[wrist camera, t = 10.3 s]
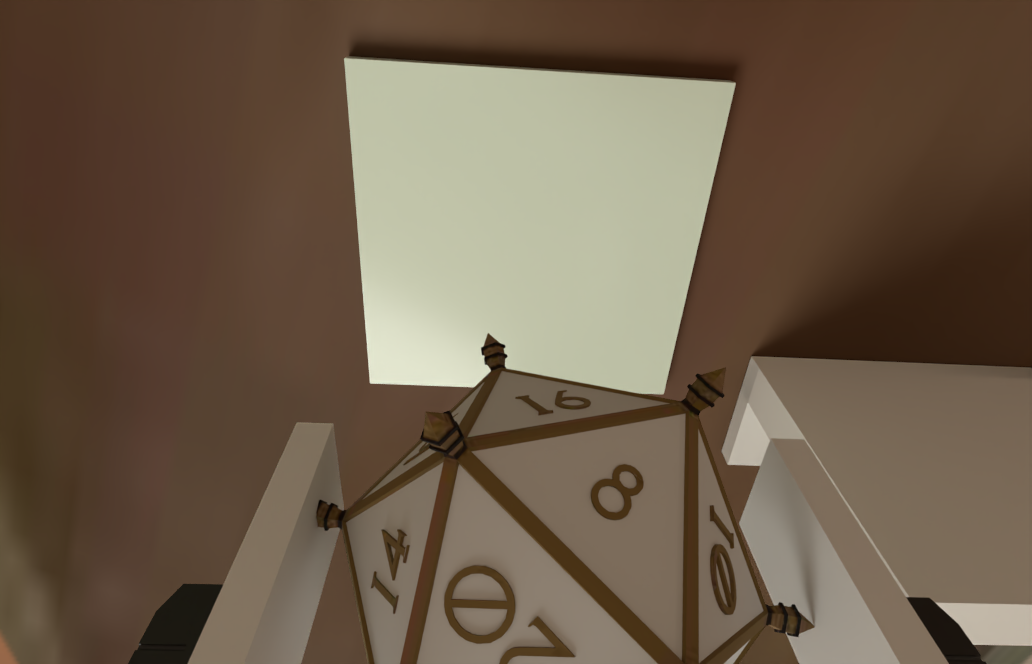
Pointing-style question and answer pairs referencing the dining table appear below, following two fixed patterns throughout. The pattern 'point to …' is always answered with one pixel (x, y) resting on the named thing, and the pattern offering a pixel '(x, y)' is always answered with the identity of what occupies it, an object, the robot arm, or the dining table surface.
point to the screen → (916, 471)
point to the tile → (528, 217)
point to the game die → (555, 533)
